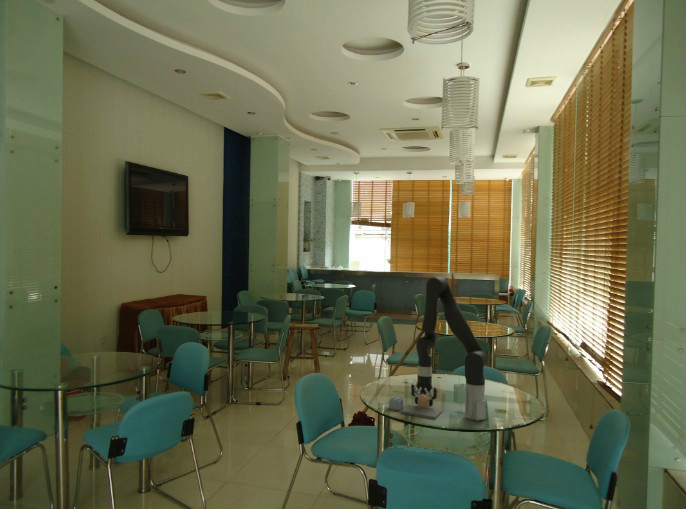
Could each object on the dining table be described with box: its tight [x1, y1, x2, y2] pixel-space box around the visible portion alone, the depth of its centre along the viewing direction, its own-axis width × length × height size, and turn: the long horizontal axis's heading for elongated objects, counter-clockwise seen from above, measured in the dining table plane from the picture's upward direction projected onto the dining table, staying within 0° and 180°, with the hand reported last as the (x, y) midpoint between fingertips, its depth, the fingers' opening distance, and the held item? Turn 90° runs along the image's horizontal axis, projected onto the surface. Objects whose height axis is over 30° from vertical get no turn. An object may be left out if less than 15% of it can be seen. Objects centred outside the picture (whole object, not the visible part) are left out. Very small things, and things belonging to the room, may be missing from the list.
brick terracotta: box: [417, 394, 430, 409], centre depth 274 cm, size 6×5×6 cm
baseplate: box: [400, 404, 443, 420], centre depth 264 cm, size 18×11×1 cm, turn 63°
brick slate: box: [388, 395, 404, 411], centre depth 271 cm, size 6×5×6 cm
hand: (423, 405), depth 274 cm, fingers open, 7 cm apart
